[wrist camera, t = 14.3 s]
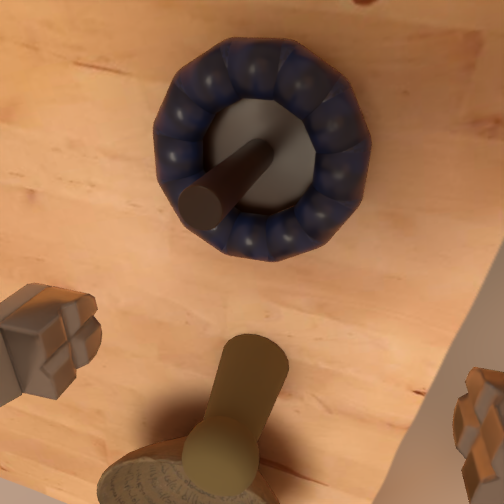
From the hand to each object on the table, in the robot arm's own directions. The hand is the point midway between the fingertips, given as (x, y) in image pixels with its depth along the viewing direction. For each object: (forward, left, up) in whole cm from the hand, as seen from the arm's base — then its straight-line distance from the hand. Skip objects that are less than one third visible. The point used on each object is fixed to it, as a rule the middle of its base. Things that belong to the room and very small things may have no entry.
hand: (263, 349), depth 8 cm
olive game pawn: (+14, -13, -19) cm, 27 cm away
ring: (-2, -4, -16) cm, 17 cm away
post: (-2, -4, -19) cm, 19 cm away
